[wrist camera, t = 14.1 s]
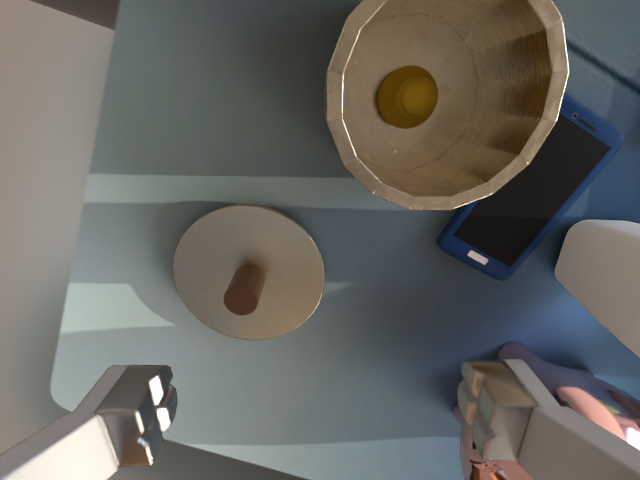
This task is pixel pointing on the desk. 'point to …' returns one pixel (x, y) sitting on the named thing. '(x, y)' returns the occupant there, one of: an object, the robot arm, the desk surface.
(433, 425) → the desk surface
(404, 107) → the chess piece
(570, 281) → the cup
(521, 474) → the piggy bank
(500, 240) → the cell phone
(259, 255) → the tin lid
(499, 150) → the tin
